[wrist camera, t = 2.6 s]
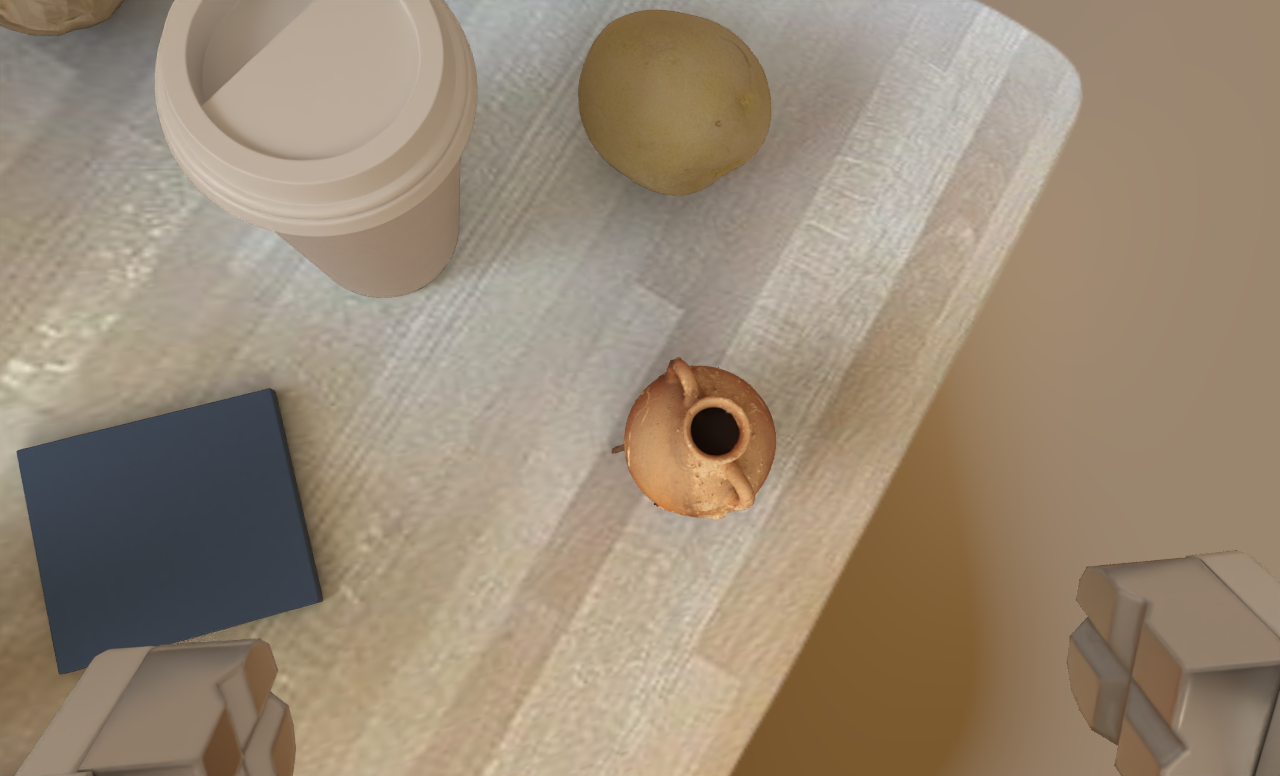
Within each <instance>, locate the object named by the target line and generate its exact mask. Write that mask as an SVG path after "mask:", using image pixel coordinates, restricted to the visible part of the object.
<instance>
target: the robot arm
mask: <svg viewBox="0 0 1280 776" xmlns="http://www.w3.org/2000/svg"><path fill="white" fill-rule="evenodd" d="M1076 601H1077V603H1078V604H1079V605H1080V607H1081V608H1082V609H1083V611H1084V612H1085V613H1086V615H1087V616H1088V617H1087V618H1086V619H1085V620H1084V621H1083V622H1082V623H1081V624H1080V625H1079V626H1078V627H1077V629H1076V630H1075V631H1074V632H1073V633H1072V634H1071V635H1070V639H1069V647H1068V656H1067V667H1068V674H1069V680H1070V686H1071V691H1072V693H1073V696H1074V698H1075V701H1076V703H1077V705H1078V708H1079V711H1080V712H1081V714H1082V715H1083V717H1084V719H1085V720H1086V722H1087V723H1088V725H1089V727H1090V728H1091V730H1093V731H1094V732H1096V733H1098V734H1099V735H1101V736H1103V737H1105V738H1106V739H1108V740H1109V741H1111V742H1113V743H1114V744H1116V745H1118V749H1117V754H1116V759H1115V765H1114V766H1115V767H1116V769H1117V770H1118V771H1119V773H1120V775H1121V776H1280V581H1279V580H1277V579H1276V578H1275V577H1274V576H1273V575H1272V574H1271V573H1270V572H1269V571H1268V570H1267V569H1265V568H1264V567H1263V566H1262V565H1261V564H1260V563H1259V562H1258V561H1257V560H1255V558H1253V557H1252V556H1250V555H1248V554H1245V553H1243V552H1240V551H1237V550H1234V551H1225V552H1217V553H1207V554H1199V555H1191V556H1186V557H1185V558H1176V559H1164V560H1154V561H1143V562H1132V563H1121V564H1112V565H1111V564H1110V565H1100V566H1089V567H1086V569H1085V571H1084V573H1083V574H1082V576H1081V578H1080V579H1079V585H1078V590H1077V596H1076ZM277 672H278V668H277V665H276V662H275V659H274V656H273V653H272V650H271V647H270V644H268V643H266V642H265V641H263V640H261V639H260V638H259V639H244V640H229V641H213V642H198V643H183V644H167V645H160V646H158V647H157V646H146V647H133V648H119V649H108V650H107V651H105V652H103V653H101V654H99V655H97V656H95V658H94V659H93V660H92V661H91V663H90V664H89V666H88V667H87V669H86V670H85V672H84V673H83V675H82V676H81V678H80V679H79V681H78V682H77V684H76V685H75V687H74V688H73V690H72V691H71V693H70V694H69V696H68V697H67V699H66V700H65V701H64V703H63V704H62V706H61V707H60V709H59V710H58V712H57V713H56V715H55V716H54V718H53V719H52V721H51V722H50V724H49V725H48V727H47V728H46V730H45V731H44V733H43V734H42V736H41V737H40V739H39V740H38V742H37V743H36V745H35V746H34V747H33V749H32V750H31V752H30V753H29V755H28V756H27V758H26V759H25V761H24V762H23V764H22V765H21V767H20V768H19V770H18V771H17V773H16V774H15V776H293V771H294V762H295V752H296V745H295V734H294V725H293V721H292V717H291V714H290V710H289V706H288V705H287V704H286V703H284V702H283V701H282V700H281V699H279V698H278V697H277V696H275V695H274V694H273V693H272V692H270V690H271V688H272V685H273V683H274V680H275V678H276V675H277Z"/></svg>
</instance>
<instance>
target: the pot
mask: <svg viewBox="0 0 1280 776" xmlns="http://www.w3.org/2000/svg"><path fill="white" fill-rule="evenodd" d="M641 393H642V394H641V395H640V396H639V398H638V399H637V400H636V401H635V404H634V405H633V407H632V409H631V411H630V414H629V416H628V420H627V423H626V428H625V437H624V444H623V445H621V446H618V447H615V448H613V450H612V453H618V452H620V451H623V450H625V458H626V461H627V465H628V468H629V470H630V473H631V475H632V477H633V479H634V480H635V482H636V484H637V485H638V487H639V488H640V489H641V490H642V492H643V493H644V494H645V495H646V496H647V497H648V498H650V499H651V500H652V501H653V502H655V503H654V505H656V506H657V507H659V508H662V509H664V510H665V511H671V512H675V513H678V514H681V515H685V516H690V517H699V518H702V517H703V518H704V517H710V518H712V519H713V518H714V519H716V520H717V519H721V518H723V517H725V515H726V514H727V513H729V512H732V511H734V510H737V511H739V510H745V509H747V508H749V507H751V506H752V505H753V504H754V501H755V494H756V493H757V492H758V491H759V489H760V488H761V487H762V485H763V483H764V482H765V480H766V478H767V476H768V474H769V471H770V469H771V466H772V463H773V460H774V455H775V449H776V434H775V427H774V423H773V419H772V416H771V414H770V411H769V409H768V407H767V406H766V404H765V402H764V401H763V399H762V398H761V397H760V396H759V394H758V393H757V392H756V391H755V390H754V389H753V388H752V387H751V385H749V384H748V383H747V382H745V381H744V380H743V379H741V378H740V377H738V376H736V375H734V374H732V373H730V372H727V371H725V370H722V369H719V367H718V368H714V367H708V366H689V365H688V364H687V363H686V362H684V361H683V360H681V358H676V359H675V360H671V361H670V364H669V366H668V368H667V372H666V373H664V375H661V376H659V378H658V379H657V380H655V381H654V382H653V383H651V384H650V385H649V386H648V387H647V388H646V389H645V390H644V391H643V392H641Z"/></svg>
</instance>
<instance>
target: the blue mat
mask: <svg viewBox="0 0 1280 776" xmlns="http://www.w3.org/2000/svg"><path fill="white" fill-rule="evenodd" d="M17 457H18V462H19V467H20V472H21V478H22V483H23V488H24V493H25V499H26V504H27V509H28V514H29V520H30V525H31V530H32V535H33V540H34V546H35V551H36V556H37V561H38V567H39V572H40V577H41V582H42V588H43V593H44V598H45V603H46V608H47V614H48V619H49V624H50V629H51V635H52V640H53V645H54V650H55V656H56V661H57V666H58V671H59V674H60V675H61V674H65V673H69V672H73V671H76V670H80V669H83V668H87V667H88V666H89V664H90V663H91V661H92V660H93V659H94V658H95V656H97V655H99V654H101V653H103V652H105V651H107V650H108V649H119V648H133V647H146V646H157V647H158V646H160V645H167V644H172V643H176V642H180V641H183V640H187V639H190V638H194V637H197V636H201V635H205V634H208V633H212V632H215V631H219V630H222V629H226V628H230V627H233V626H237V625H240V624H244V623H247V622H251V621H254V620H258V619H262V618H265V617H269V616H272V615H276V614H279V613H283V612H287V611H290V610H294V609H297V608H301V607H304V606H308V605H312V604H315V603H319V602H322V601H323V597H322V593H321V588H320V584H319V580H318V575H317V571H316V566H315V562H314V558H313V553H312V549H311V545H310V540H309V536H308V532H307V527H306V523H305V519H304V514H303V510H302V506H301V501H300V497H299V492H298V488H297V484H296V479H295V475H294V471H293V466H292V462H291V458H290V453H289V449H288V445H287V440H286V436H285V431H284V427H283V423H282V418H281V414H280V410H279V405H278V401H277V397H276V392H275V391H274V390H272V389H265V390H261V391H257V392H253V393H249V394H245V395H241V396H237V397H233V398H229V399H224V400H220V401H216V402H212V403H208V404H204V405H200V406H196V407H192V408H188V409H184V410H180V411H176V412H172V413H168V414H163V415H159V416H155V417H151V418H147V419H143V420H139V421H135V422H131V423H127V424H123V425H119V426H115V427H111V428H107V429H102V430H98V431H94V432H90V433H86V434H82V435H78V436H74V437H70V438H66V439H62V440H58V441H54V442H50V443H46V444H42V445H37V446H33V447H29V448H25V449H21V450H18V451H17Z"/></svg>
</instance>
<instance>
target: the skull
mask: <svg viewBox="0 0 1280 776" xmlns="http://www.w3.org/2000/svg"><path fill="white" fill-rule="evenodd" d="M123 1H124V0H0V25H1V26H3V27H5V28H8V29H11V30H14V31H17V32H20V33H24V34H28V35H40V36H59V35H62V34H65V33H68V32H70V31H74V30H78V29H83V28H88V27H92V26H94V25H96V24H98V23H101V22H103V21H105V20H107V19H109V18H110V16H111V15H112V14H113V13H114V12H115V11H116V10H117V9H118V8H119V7H120V6H121V4H122V3H123Z"/></svg>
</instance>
